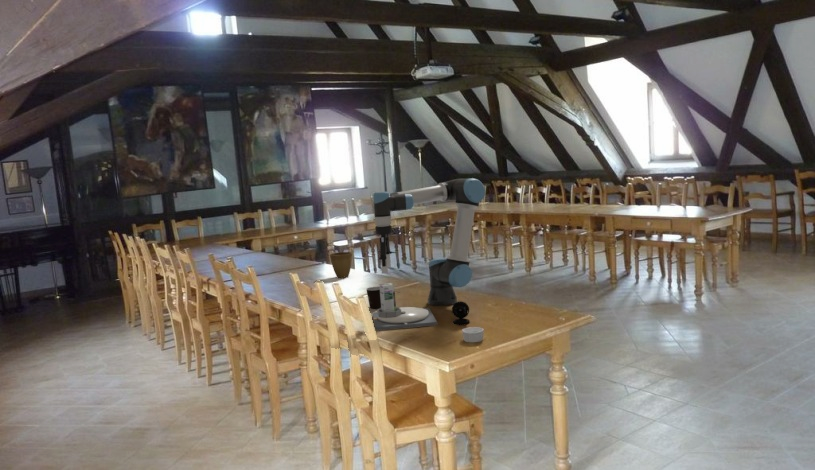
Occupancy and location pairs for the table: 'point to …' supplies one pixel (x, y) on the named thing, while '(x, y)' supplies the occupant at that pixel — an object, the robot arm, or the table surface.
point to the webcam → (460, 313)
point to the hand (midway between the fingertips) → (386, 270)
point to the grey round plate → (403, 315)
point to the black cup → (374, 297)
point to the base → (385, 326)
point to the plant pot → (341, 263)
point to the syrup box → (387, 297)
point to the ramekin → (473, 334)
